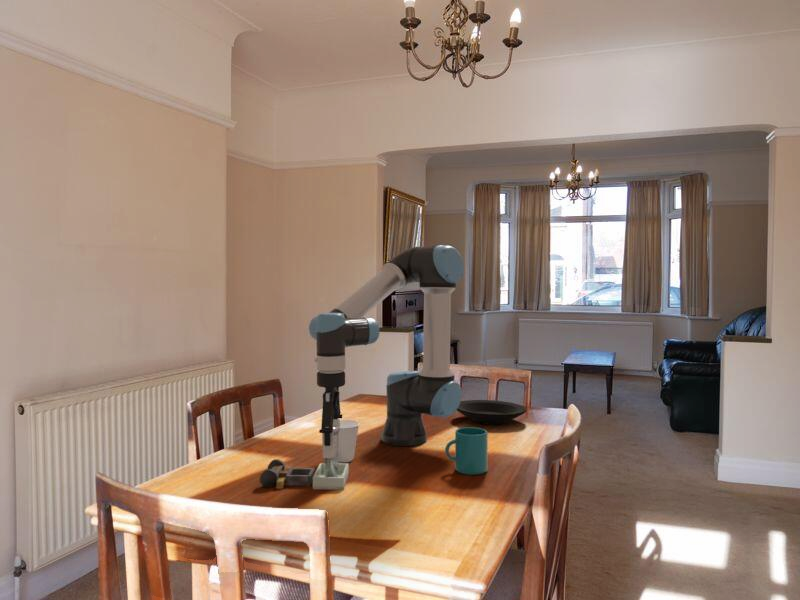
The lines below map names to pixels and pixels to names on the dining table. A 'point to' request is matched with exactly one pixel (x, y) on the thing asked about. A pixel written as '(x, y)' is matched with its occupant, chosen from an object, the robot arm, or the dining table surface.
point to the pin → (332, 463)
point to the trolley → (286, 475)
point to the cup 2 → (469, 450)
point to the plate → (490, 411)
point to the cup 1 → (347, 440)
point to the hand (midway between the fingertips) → (331, 449)
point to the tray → (330, 478)
